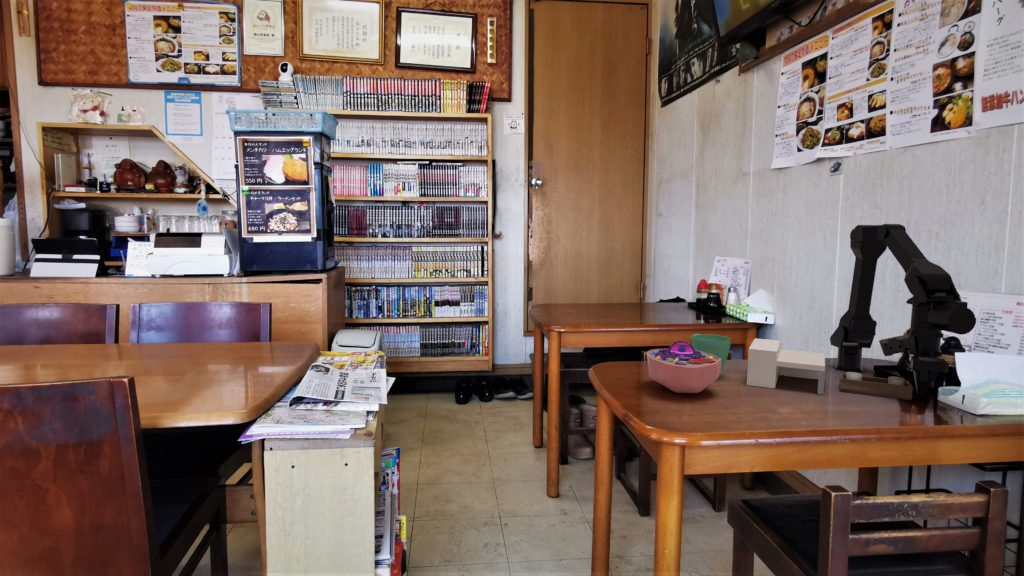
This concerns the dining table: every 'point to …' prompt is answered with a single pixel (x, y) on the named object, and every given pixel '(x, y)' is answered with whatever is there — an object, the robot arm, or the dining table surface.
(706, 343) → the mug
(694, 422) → the dining table surface
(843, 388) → the tray
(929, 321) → the robot arm
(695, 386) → the cell model
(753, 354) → the counter
